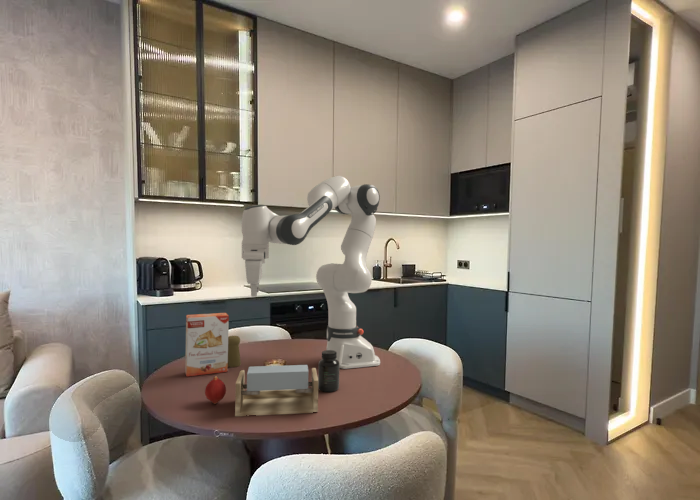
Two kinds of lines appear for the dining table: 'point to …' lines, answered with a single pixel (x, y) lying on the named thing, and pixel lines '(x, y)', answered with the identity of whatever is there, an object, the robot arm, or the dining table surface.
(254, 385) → the light grey rectangular block
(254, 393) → the tray
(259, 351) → the dining table surface
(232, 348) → the olive double rounded piece
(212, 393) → the red round piece
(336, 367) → the supplement bottle
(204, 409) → the dining table surface
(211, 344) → the cracker box
